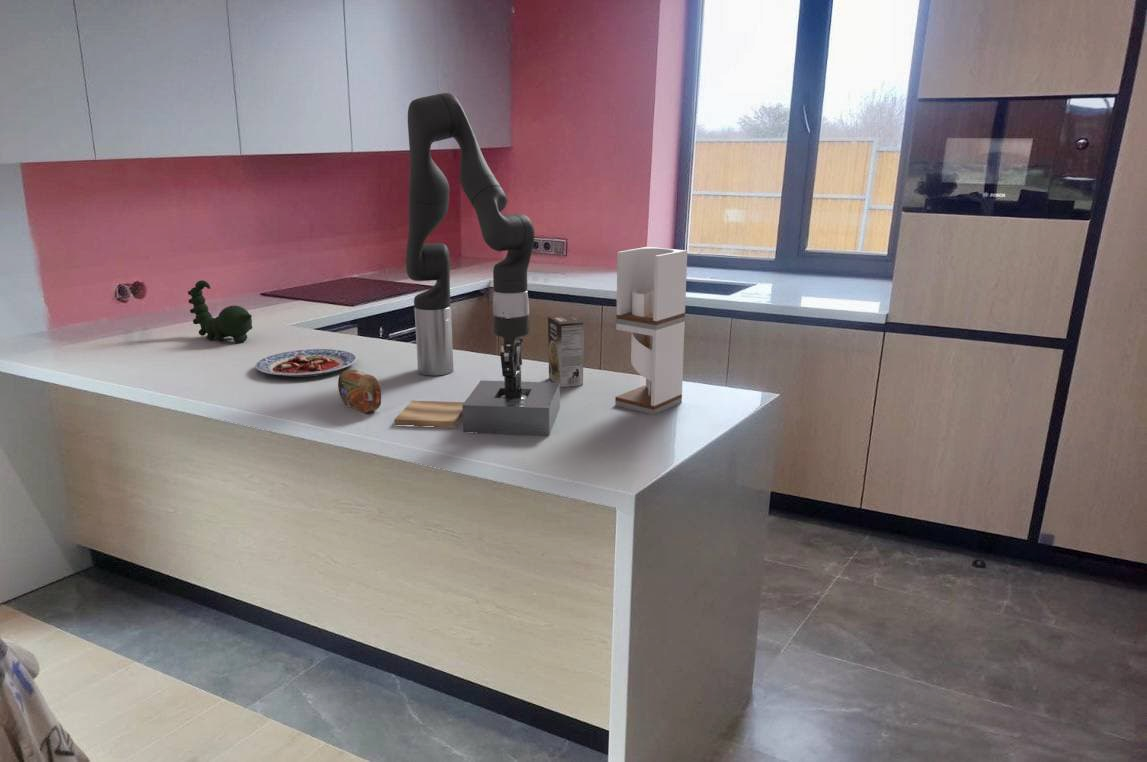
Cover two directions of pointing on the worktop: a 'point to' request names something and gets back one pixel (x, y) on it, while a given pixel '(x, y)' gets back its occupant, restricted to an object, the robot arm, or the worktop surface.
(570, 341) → the coffee box
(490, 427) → the housing
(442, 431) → the worktop surface
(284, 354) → the ceramic plate
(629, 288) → the white shelf stand
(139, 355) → the worktop surface
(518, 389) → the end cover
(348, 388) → the tin
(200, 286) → the toy figurine
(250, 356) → the worktop surface
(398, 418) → the oak pad
